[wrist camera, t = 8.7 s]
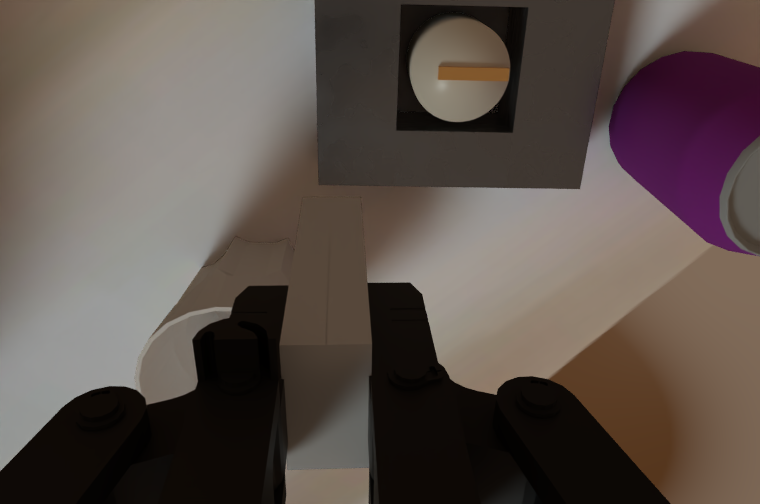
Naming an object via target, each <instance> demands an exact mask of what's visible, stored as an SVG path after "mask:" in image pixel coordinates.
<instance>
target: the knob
mask: <svg viewBox="0 0 760 504" xmlns="http://www.w3.org/2000/svg"><path fill="white" fill-rule="evenodd" d="M406 66H407V71H408V75H409V78H410V81H411V84H412V87H413V90H414V92H415V95H416V97H417V99H418V100H419V102H420V103H421V105H422V106H423V107H424V108H425V109H426V110H427V111H428V112H429V113H431V114H432V115H434V116H436V117H438V118H440V119H442V120H446V121H450V122H464V121H470V120H473V119H476V118H478V117H480V116H482V115H484V114H485V113H487V112H488V111H489V110H491V109H492V108H493V107H494V106H495V105H496V104H497V103H498V101H499V100H500V99H501V97H502V95H503V94H504V92H505V90H506V87H507V84H508V81H509V76H510V60H509V55H508V52H507V49H506V47H505V45H504V43H503V41H502V40H501V38H500V37H499V36H498V35H497V34H496V33H495V32H494V31H493V30H492V29H490V28H489V27H487V26H486V25H484V24H483V23H481V22H480V21H478V20H477V19H475V18H474V17H472V16H470V15H467V14H465V13H460V12H445V13H441V14H438V15H435V16H433V17H431V18H429V19H428V20H426V21H425V22H424V23H423V24H422V25H421V26H420V27H419V28H418V29H417V30H416V31H415V33H414V34H413V36H412V38H411V40H410V43H409V45H408V49H407V54H406Z"/></svg>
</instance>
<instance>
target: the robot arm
mask: <svg viewBox="0 0 760 504" xmlns="http://www.w3.org/2000/svg"><path fill="white" fill-rule="evenodd" d="M192 343H193V351H194V358H195V365H196V372H197V379H198V383H197V386H196V389H195V390H193V391H191V392H189V393H187V394H185V395H182V396H179V397H176V398H173V399H169V400H165V401H161V402H156V403H152V404H148V405H146V400H145V397H144V396H143V395H142V394H141V393H139V392H138V391H137V390H134V389H131V388H128V387H116V386H109V387H104V388H100V389H95V390H91V391H89V392H87V393H84V394H82V395H80V396H78V397H76V398H74V399H73V400H72V401H70V402H69V403H68V404H66V405H65V406H64V407H62V408H61V409H60V410H59V411H58V413H57V414H56V415H55V416H54V417H53V418H52V419H51V420H50V421H49V422H48V423H47V424H46V425H45V426H44V427H43V428H42V429H41V430H40V431H39V432H38V433H37V434H36V435H35V436H34V437H33V438H32V439H31V440H30V441H29V442H28V443H27V444H26V445H25V446H24V448H23V449H22V450H21V451H20V452H19V453H18V454H17V455H16V456H15V457H14V458H13V459H12V460H11V461H10V462H9V463H8V464H7V465H6V466H5V467H4V468H3V469H2V470H1V471H0V504H285V501H286V484H285V466H286V459H287V470H303V469H339V468H369V504H670V503H669V501H668V500H667V499H666V498H665V497H664V496H663V495H662V494H661V492H660V491H659V490H658V489H657V488H656V487H655V486H654V485H653V483H651V481H650V480H649V479H648V478H647V477H646V476H645V475H644V473H643V472H642V471H641V470H640V469H639V468H638V467H637V466H636V464H635V463H634V462H633V461H632V460H631V459H630V458H629V456H628V455H627V454H626V453H625V452H624V451H623V450H622V449H621V447H619V445H618V444H617V443H616V442H615V441H614V440H613V438H612V437H611V436H610V435H609V434H608V433H607V432H606V431H605V430H604V428H603V427H602V426H601V425H600V424H599V423H598V422H597V420H596V419H595V418H594V417H593V416H592V415H591V414H590V413H589V412H588V410H587V409H586V408H585V407H584V406H583V405H582V404H581V402H580V401H579V400H578V399H577V398H576V397H575V396H574V395H573V394H572V393H571V392H570V391H568V390H567V389H566V388H564V387H563V386H562V385H560V384H557V383H555V382H553V381H551V380H548V379H543V378H538V377H533V376H530V377H517V378H514V379H511V380H508V381H506V382H505V383H504V384H503V385H502V386H501V387H499V388H498V391H497V395H494V394H489V393H484V392H479V391H475V390H472V389H468V388H465V387H463V386H461V385H459V384H457V383H455V382H453V381H452V380H451V379H450V377H449V375H448V373H447V372H446V370H445V368H444V367H443V366H442V365H440V364H439V363H438V361H437V356H436V352H435V348H434V343H433V339H432V335H431V331H430V326H429V322H428V318H427V313H426V311H425V305H424V301H423V296H422V294H421V293H420V292H419V291H418V290H417V289H416V288H415V287H414V286H413V285H412V284H411V283H367V272H366V259H365V246H364V233H363V220H362V207H361V197H303V198H302V205H301V211H300V217H299V224H298V230H297V237H296V243H295V249H294V256H293V262H292V268H291V275H290V281H289V285H275V286H248V287H247V288H246V289H245V290H244V291H242V292H241V293H240V294H239V295H238V296H237V297H236V298H235V301H234V304H233V307H232V310H231V315H230V317H229V318H226V319H222V320H219V321H216V322H213V323H210V324H209V325H207V326H205V327H204V328H202V329H201V330H199V331H198V332H197V334H196V335H195V336H194V338H193V339H192Z"/></svg>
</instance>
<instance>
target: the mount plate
mask: <svg viewBox="0 0 760 504" xmlns="http://www.w3.org/2000/svg"><path fill="white" fill-rule="evenodd" d="M614 1H615V0H315V39H316V85H317V130H318V176H319V185H360V186H425V187H489V188H554V189H580V185H581V180H582V174H583V169H584V163H585V158H586V153H587V147H588V142H589V136H590V131H591V126H592V120H593V115H594V109H595V104H596V99H597V93H598V88H599V82H600V77H601V71H602V66H603V61H604V55H605V50H606V44H607V39H608V34H609V28H610V23H611V17H612V12H613V6H614ZM401 4H418V5H459V6H499V7H510V8H509V17H508V26H507V35H506V44H505V47H506V49H507V52H508V55H509V60H510V76H509V81H508V84H507V87H506V90H505V92H504V94H503V95H502V97H501V99H500V100H499V106H498V113H485V114H484V115H482V116H480V117H478V118H476V119H473V120H470V121H464V122H450V121H446V120H442V119H440V118H438V117H436V116H434V115H432V114H431V113H429V112H397V93H398V67H399V40H400V13H401Z"/></svg>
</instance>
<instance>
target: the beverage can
mask: <svg viewBox="0 0 760 504" xmlns="http://www.w3.org/2000/svg"><path fill="white" fill-rule="evenodd" d="M609 135H610V146H611V148H612V150H613V152H614V155H615V157H616V159H617V161H618V163H619V164H620V166H621V167H622V168H623V169H624V170H625V171H626V172H627V173H628V174H629V175H631V176H632V177H633V178H634V179H635V180H636V181H637V182H638V183H639V184H641V185H642V186H643V187H644V188H645V189H646V190H647V191H649V192H650V193H651V194H652V195H653V196H654V197H655V198H657V199H658V200H659V201H660V202H661V203H662V204H664V205H665V206H666V207H667V208H668V209H669V210H670V211H672V212H673V213H674V214H675V215H676V216H677V217H679V218H680V219H681V220H682V221H683V222H684V223H685V224H687V225H688V226H689V227H690V228H691V229H692V230H693V231H695V232H696V233H697V234H698V235H699V236H700V237H702V238H703V239H704V240H705V241H706V242H708V243H710V244H713V245H715V246H718V247H721V248H723V249H726V250H728V251H734V252H739V253H745V254H750V255H755V256H760V68H759V67H756V66H753V65H749V64H746V63H743V62H740V61H736V60H733V59H730V58H727V57H724V56H720V55H717V54H714V53H704V52H689V51H683V52H679V53H675V54H671V55H668V56H664V57H661V58H659V59H658V60H656V61H654V62H653V63H651V64H649V65H648V66H646V67H644V68H642V69H641V70H640V71H639V72H638V73H637V74H636V75H635V76H634V77H633V78H632V79H631V80H630V81H629V82H628V83H627V84H626V85H625V87H624V88H623V90H622V92H621V94H620V96H619V97H618V99H617V101H616V103H615V104H614V107H613V111H612V115H611V119H610V124H609Z"/></svg>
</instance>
